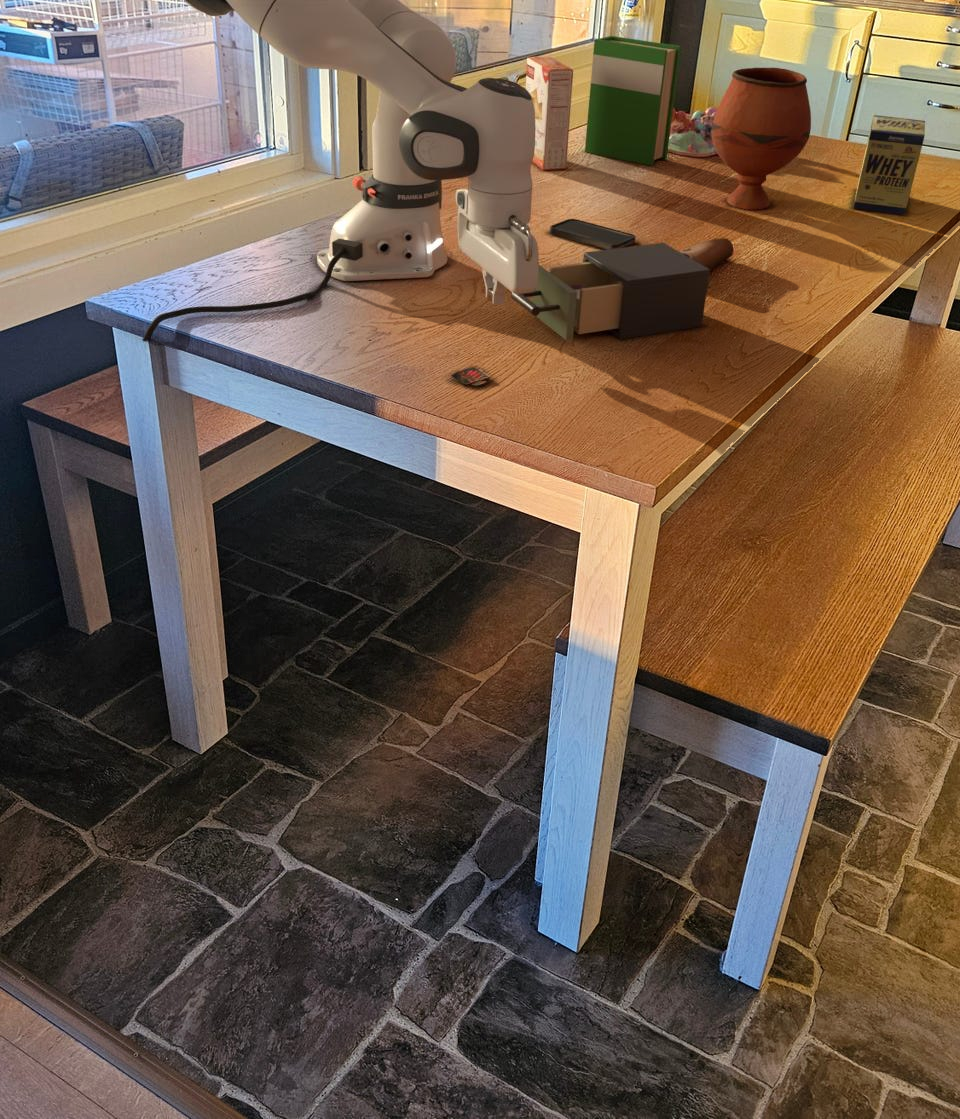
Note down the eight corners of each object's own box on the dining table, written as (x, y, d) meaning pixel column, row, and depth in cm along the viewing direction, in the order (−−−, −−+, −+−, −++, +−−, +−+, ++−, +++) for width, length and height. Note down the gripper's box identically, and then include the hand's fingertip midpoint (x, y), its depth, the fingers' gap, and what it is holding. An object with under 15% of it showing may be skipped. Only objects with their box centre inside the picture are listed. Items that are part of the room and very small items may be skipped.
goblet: (697, 212, 218) (717, 78, 204) (704, 186, 233) (723, 60, 219) (795, 222, 214) (821, 87, 200) (795, 195, 230) (820, 68, 216)
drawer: (537, 344, 158) (540, 296, 154) (502, 315, 167) (504, 269, 163) (644, 328, 165) (650, 281, 161) (605, 300, 174) (609, 256, 170)
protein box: (852, 209, 223) (870, 130, 214) (856, 189, 235) (873, 114, 227) (905, 216, 221) (925, 136, 212) (906, 195, 233) (925, 119, 224)
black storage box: (620, 339, 163) (627, 280, 158) (578, 308, 173) (583, 252, 168) (701, 326, 169) (710, 269, 163) (656, 297, 178) (663, 242, 173)
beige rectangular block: (600, 321, 164) (602, 300, 162) (582, 324, 163) (583, 303, 161) (577, 304, 169) (579, 284, 167) (559, 307, 168) (561, 287, 166)
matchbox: (447, 378, 150) (447, 375, 149) (471, 367, 153) (471, 363, 153) (473, 388, 147) (473, 385, 147) (497, 376, 151) (497, 373, 150)
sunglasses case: (688, 247, 198) (711, 220, 193) (716, 274, 197) (739, 246, 193) (648, 276, 185) (671, 247, 180) (678, 304, 184) (701, 275, 180)
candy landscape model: (703, 129, 277) (709, 90, 271) (777, 149, 262) (785, 109, 257) (635, 142, 263) (640, 101, 258) (710, 164, 249) (716, 122, 243)
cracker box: (520, 154, 250) (526, 56, 238) (545, 153, 251) (551, 55, 240) (541, 171, 239) (548, 68, 227) (566, 170, 240) (575, 68, 229)
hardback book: (666, 159, 251) (681, 46, 237) (651, 165, 246) (665, 50, 232) (600, 145, 259) (611, 35, 246) (584, 151, 254) (594, 39, 240)
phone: (571, 217, 208) (638, 235, 200) (571, 223, 208) (637, 241, 201) (547, 227, 203) (614, 245, 195) (546, 233, 203) (614, 251, 196)
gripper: (553, 226, 144) (546, 325, 152) (490, 184, 159) (486, 276, 167) (510, 231, 142) (505, 331, 150) (450, 188, 157) (448, 281, 165)
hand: (495, 301), depth 158 cm, fingers closed
